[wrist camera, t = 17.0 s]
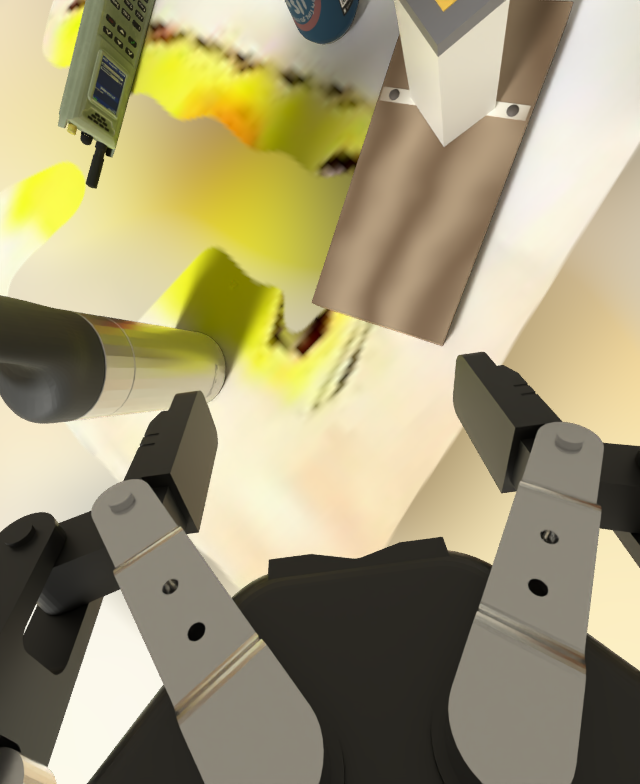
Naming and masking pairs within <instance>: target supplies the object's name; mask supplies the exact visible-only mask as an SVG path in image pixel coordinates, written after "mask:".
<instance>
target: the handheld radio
mask: <svg viewBox="0 0 640 784" xmlns="http://www.w3.org/2000/svg"><path fill="white" fill-rule="evenodd" d="M154 2H155V0H86V2H85V7H84V11H83V15H82V19H81V23H80V27H79V32H78V36H77V40H76V44H75V48H74V52H73V57H72V61H71V65H70V69H69V74H68V78H67V82H66V86H65V90H64V94H63V98H62V102H61V107H60V111H59V123H58V126H59V127H62V128H65V127H66V125H67V123H69V125H68V129H67V131H68V132H69V133H71V134H73V135H75V134H76V130H77V129H78V130H80V131H81V141H82V143H84V144H85V145H90V144H91V142H92V139H94V140H96V141H97V142H96V145H95V147H96V150H95V154H94V155H93V159H92V163H91V166H90V170H89V173H88V177H87V181H86V184H87V185H88V186H89V187H91V188H97V184H98V181H99V177H100V173H101V170H102V166H103V162H104V159H103V158H104V154H105V153H106V154H105V155H106V156H108V157H113V154H114V152H115V148H116V145H117V141H118V137H119V133H120V130H121V126H122V122H123V118H124V114H125V111H126V107H127V103H128V99H129V96H130V92H131V88H132V84H133V81H134V77H135V73H136V69H137V66H138V62H139V58H140V54H141V51H142V47H143V43H144V39H145V36H146V32H147V28H148V24H149V21H150V17H151V13H152V9H153V6H154ZM84 134H85V135H84ZM88 136H89V137H88Z"/></svg>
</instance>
